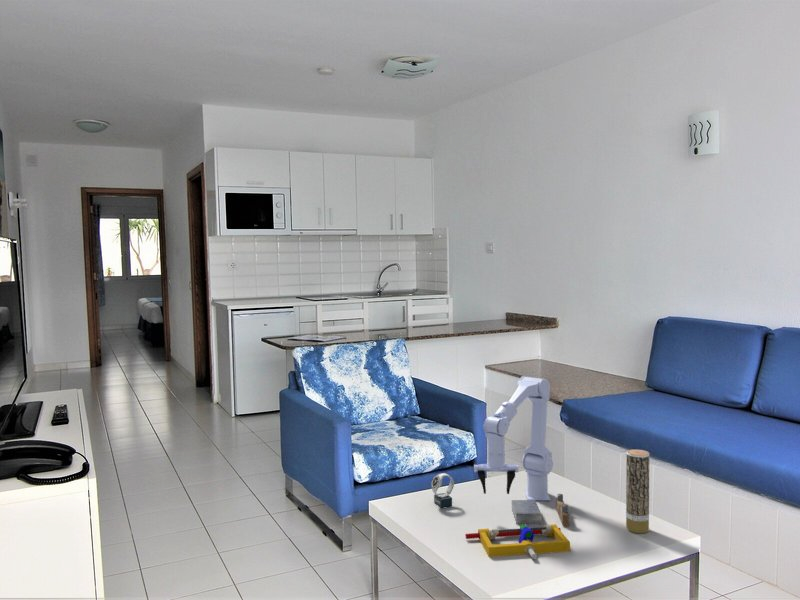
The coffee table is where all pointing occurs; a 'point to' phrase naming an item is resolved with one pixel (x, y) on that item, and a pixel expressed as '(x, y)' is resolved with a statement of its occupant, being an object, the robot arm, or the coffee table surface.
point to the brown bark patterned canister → (637, 491)
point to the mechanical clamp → (522, 541)
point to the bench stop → (562, 510)
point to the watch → (442, 498)
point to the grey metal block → (526, 512)
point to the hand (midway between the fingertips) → (496, 492)
